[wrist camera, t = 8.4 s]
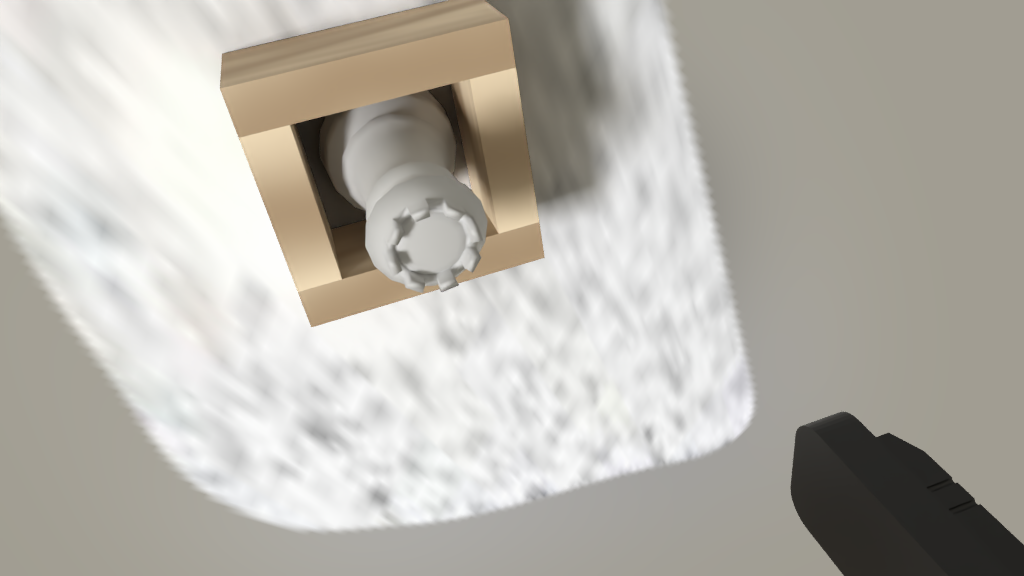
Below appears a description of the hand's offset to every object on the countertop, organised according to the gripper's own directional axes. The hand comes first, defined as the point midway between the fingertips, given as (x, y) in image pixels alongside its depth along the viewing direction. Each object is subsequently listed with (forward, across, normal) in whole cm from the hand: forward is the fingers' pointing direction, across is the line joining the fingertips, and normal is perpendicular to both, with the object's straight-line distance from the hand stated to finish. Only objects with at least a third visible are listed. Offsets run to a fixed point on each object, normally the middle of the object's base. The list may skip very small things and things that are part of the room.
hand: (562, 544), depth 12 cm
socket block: (+17, 0, 0) cm, 17 cm away
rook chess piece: (+18, 0, 0) cm, 18 cm away
